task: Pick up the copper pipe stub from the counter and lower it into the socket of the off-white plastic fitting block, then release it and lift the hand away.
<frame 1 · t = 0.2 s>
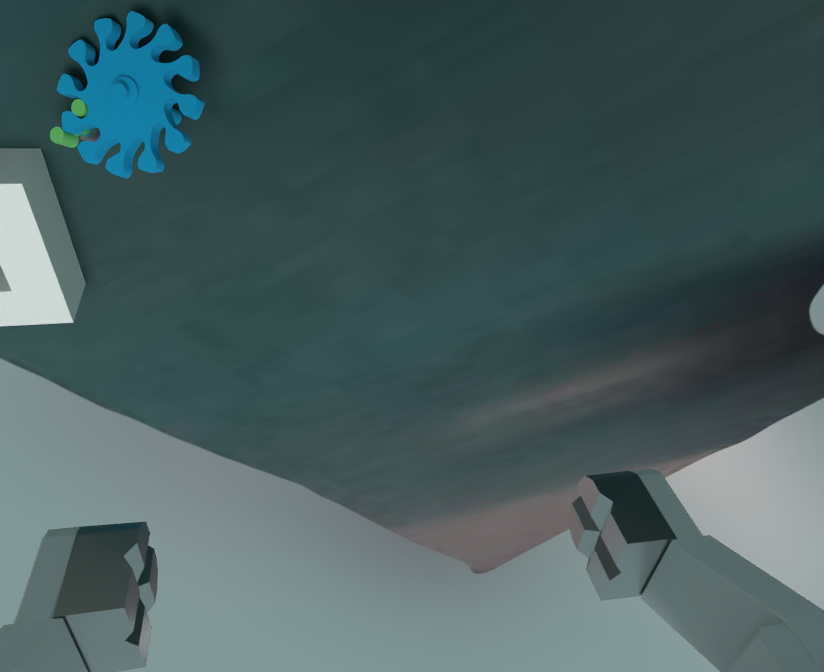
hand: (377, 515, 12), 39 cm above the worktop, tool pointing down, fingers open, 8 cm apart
gear: (132, 77, 42), on the worktop
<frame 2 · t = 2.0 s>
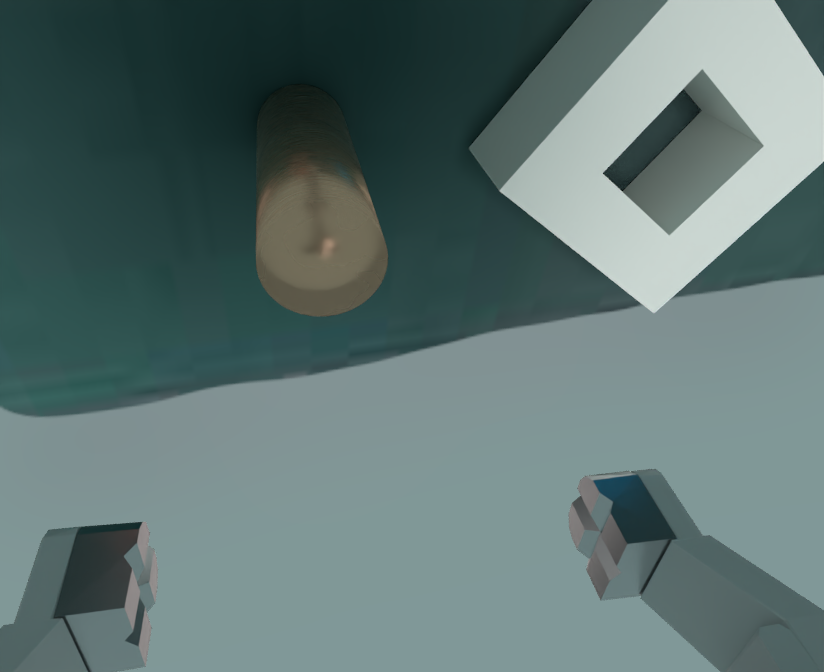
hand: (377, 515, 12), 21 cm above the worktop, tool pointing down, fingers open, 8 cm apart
pipe stub: (302, 129, 28), on the worktop
fitting block: (631, 122, 31), on the worktop
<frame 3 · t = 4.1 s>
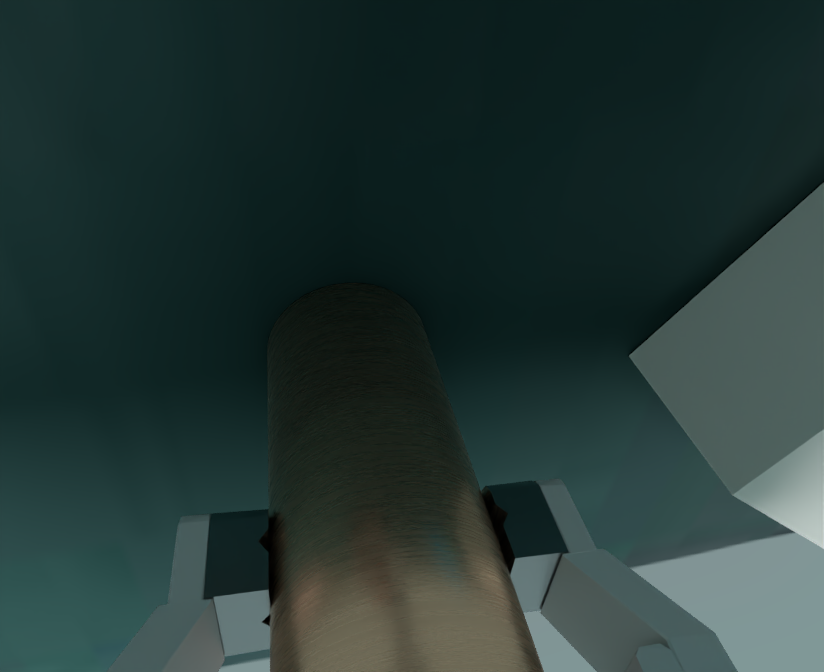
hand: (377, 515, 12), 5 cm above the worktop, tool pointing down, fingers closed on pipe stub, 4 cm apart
pipe stub: (348, 350, 16), on the worktop, touching gripper
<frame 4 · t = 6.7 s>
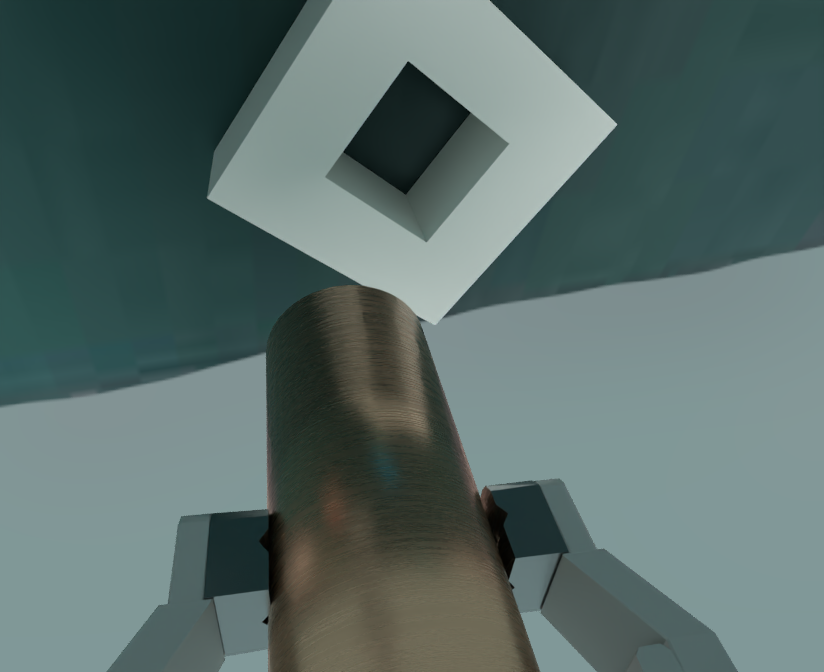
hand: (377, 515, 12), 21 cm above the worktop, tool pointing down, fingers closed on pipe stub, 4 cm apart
pipe stub: (347, 352, 16), point 16 cm above the worktop, touching gripper
fitting block: (396, 119, 29), on the worktop
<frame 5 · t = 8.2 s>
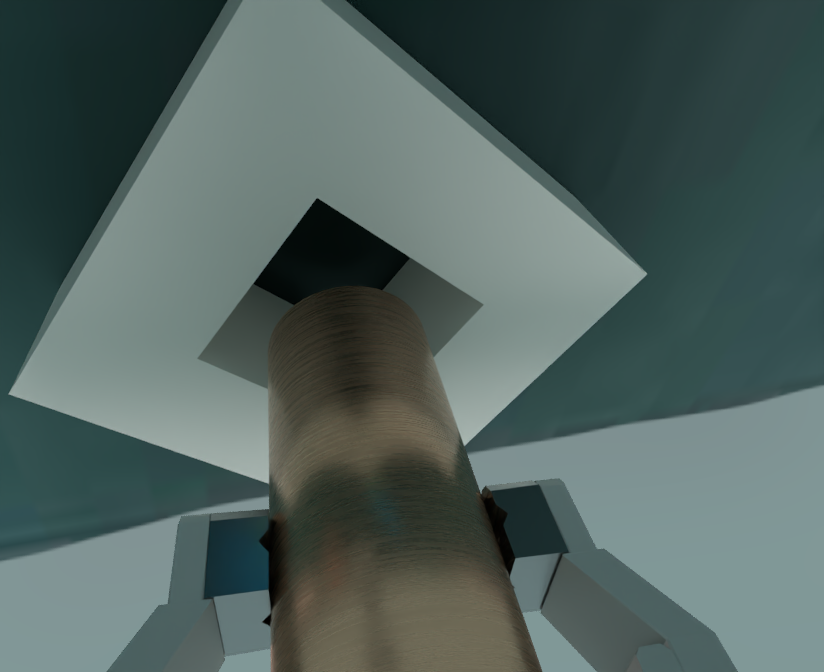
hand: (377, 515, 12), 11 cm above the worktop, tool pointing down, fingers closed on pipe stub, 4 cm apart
pipe stub: (348, 352, 16), point 6 cm above the worktop, touching gripper
fitting block: (328, 240, 20), on the worktop
when the fingers open (7 cm above the worktop, at t = 9.4 s): pipe stub drops 1 cm, resting in fitting block.
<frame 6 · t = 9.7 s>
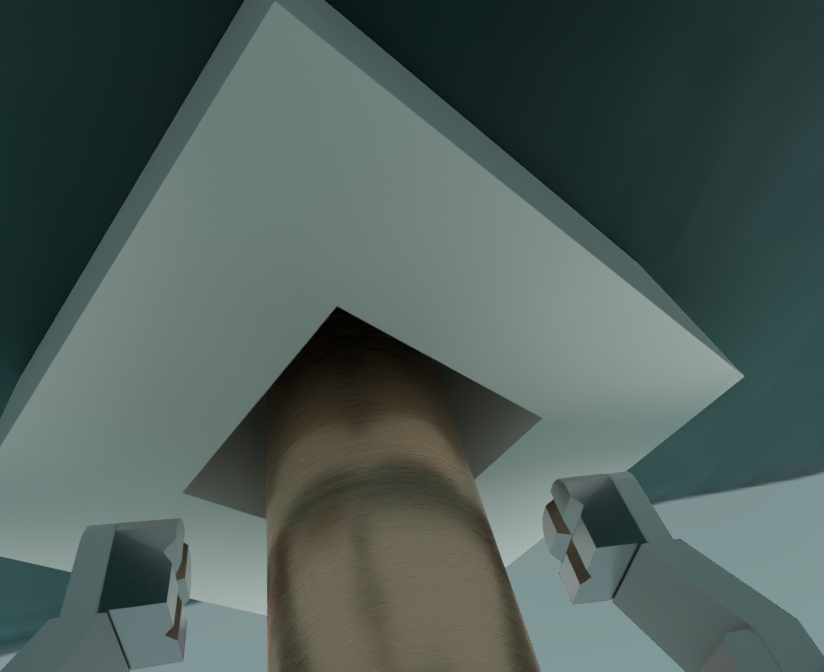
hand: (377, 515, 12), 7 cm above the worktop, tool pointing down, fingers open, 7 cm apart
pipe stub: (340, 318, 17), resting in fitting block
fitting block: (343, 317, 17), on the worktop
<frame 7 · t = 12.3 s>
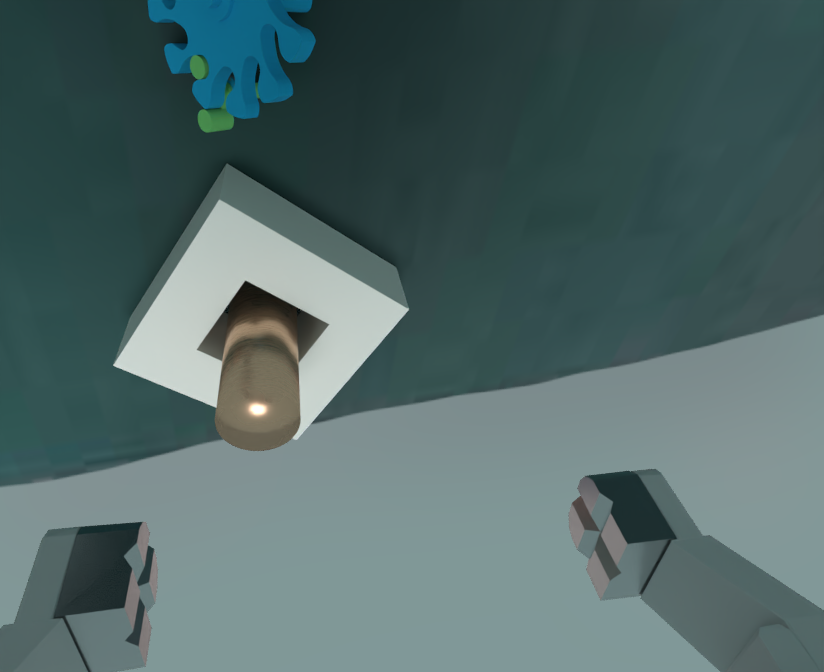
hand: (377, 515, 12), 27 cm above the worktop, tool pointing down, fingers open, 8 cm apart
pipe stub: (264, 291, 39), resting in fitting block
fitting block: (265, 291, 39), on the worktop
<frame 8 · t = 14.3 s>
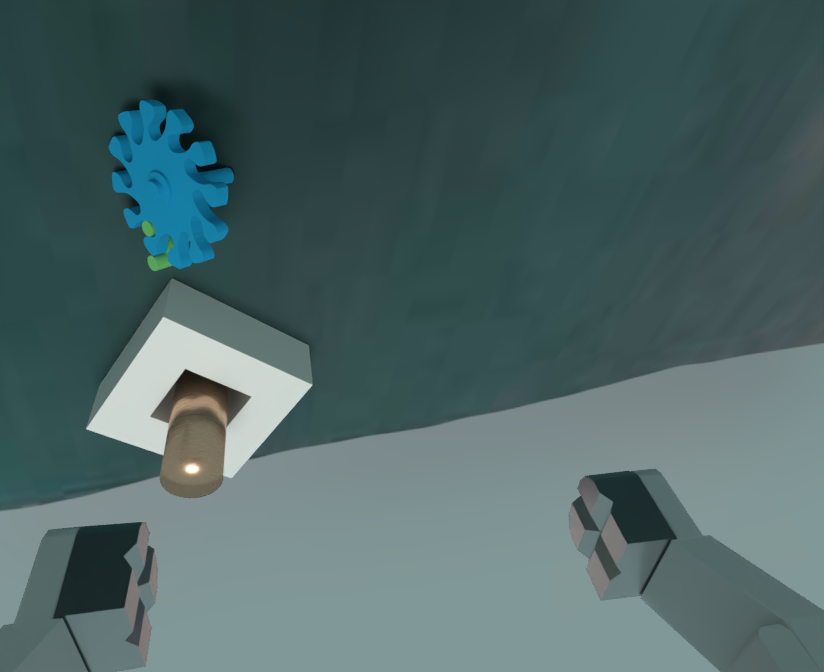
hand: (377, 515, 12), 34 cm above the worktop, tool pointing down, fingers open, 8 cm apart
pipe stub: (204, 364, 51), resting in fitting block
fitting block: (205, 364, 51), on the worktop
gear: (174, 170, 41), on the worktop
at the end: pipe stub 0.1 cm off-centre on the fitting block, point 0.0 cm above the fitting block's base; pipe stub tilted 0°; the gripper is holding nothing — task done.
